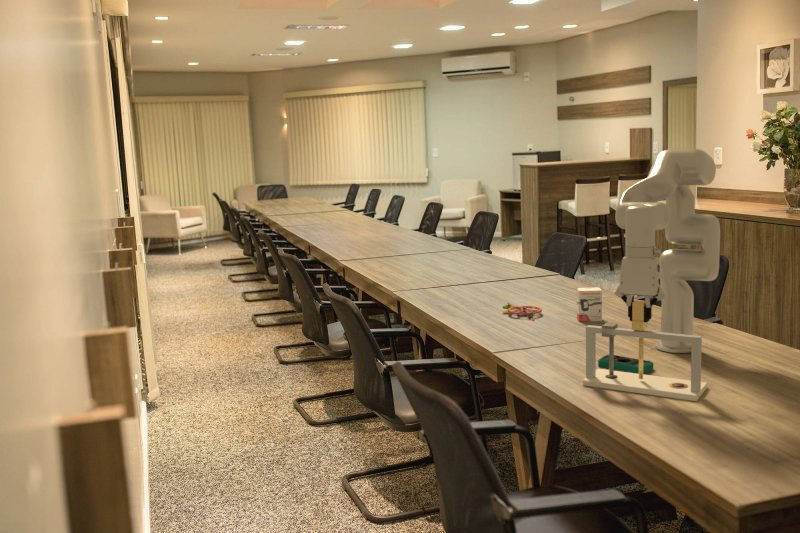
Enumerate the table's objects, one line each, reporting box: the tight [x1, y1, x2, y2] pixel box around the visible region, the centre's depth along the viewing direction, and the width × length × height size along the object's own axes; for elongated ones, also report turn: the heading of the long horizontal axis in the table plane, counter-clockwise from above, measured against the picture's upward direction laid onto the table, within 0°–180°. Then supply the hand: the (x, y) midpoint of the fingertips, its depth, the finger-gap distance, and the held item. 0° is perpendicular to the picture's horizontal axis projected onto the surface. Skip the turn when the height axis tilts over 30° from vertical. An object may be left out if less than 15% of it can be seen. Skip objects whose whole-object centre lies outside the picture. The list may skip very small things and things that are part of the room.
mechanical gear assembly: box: [502, 302, 543, 322], centre depth 309 cm, size 30×4×15 cm
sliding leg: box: [631, 299, 649, 379], centre depth 212 cm, size 4×3×22 cm
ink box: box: [576, 286, 603, 323], centre depth 291 cm, size 8×5×12 cm, turn 86°
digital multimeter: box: [597, 354, 654, 375], centre depth 232 cm, size 7×15×3 cm, turn 45°
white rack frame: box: [582, 321, 708, 402], centre depth 213 cm, size 12×30×17 cm, turn 57°
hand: (639, 320), depth 211 cm, fingers closed on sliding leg, 3 cm apart
